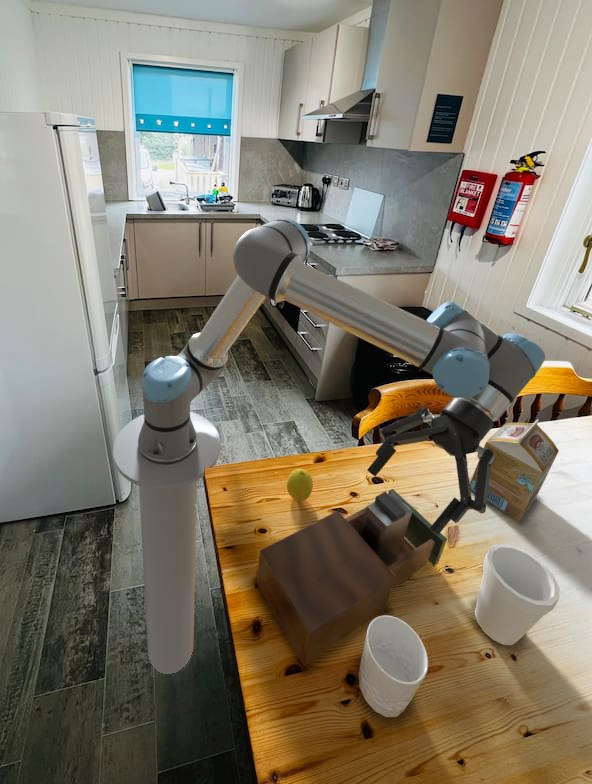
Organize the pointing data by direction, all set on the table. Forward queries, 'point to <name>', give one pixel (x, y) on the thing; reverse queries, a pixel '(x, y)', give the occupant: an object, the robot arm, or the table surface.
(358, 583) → the cabinet
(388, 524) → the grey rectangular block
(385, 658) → the white cup
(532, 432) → the milk carton
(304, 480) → the lemon
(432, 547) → the drawer
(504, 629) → the foam cup
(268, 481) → the table surface
